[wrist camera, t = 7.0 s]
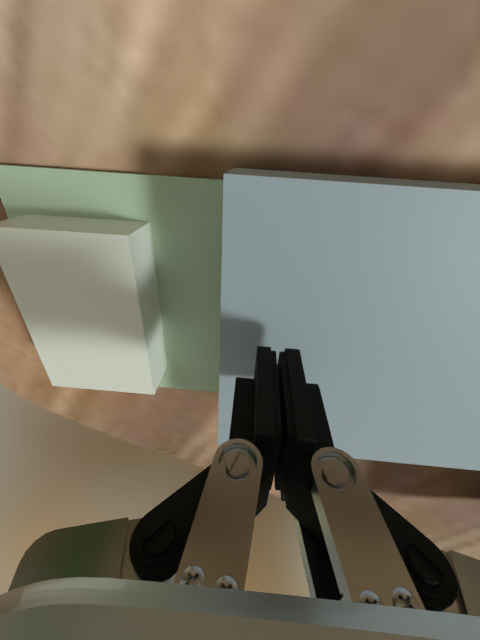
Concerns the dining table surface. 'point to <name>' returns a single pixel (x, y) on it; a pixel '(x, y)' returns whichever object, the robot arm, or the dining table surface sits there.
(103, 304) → the white rectangular block
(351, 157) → the dining table surface
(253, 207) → the plate
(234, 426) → the robot arm
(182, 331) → the mat
